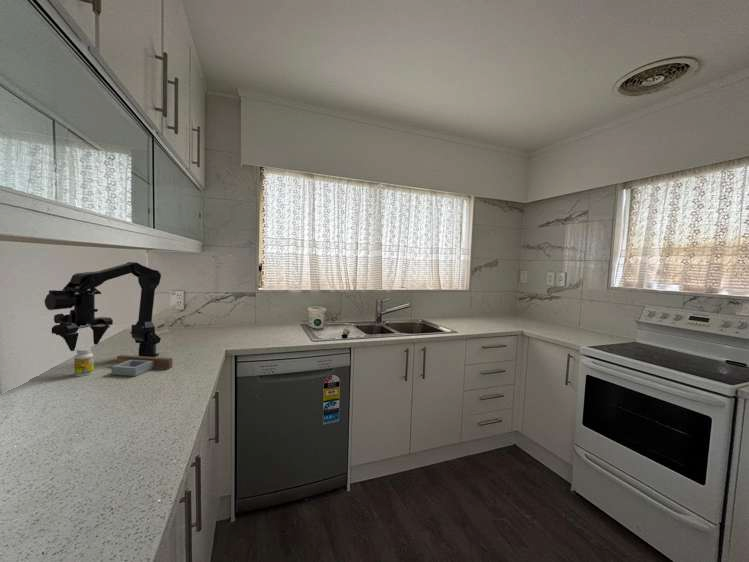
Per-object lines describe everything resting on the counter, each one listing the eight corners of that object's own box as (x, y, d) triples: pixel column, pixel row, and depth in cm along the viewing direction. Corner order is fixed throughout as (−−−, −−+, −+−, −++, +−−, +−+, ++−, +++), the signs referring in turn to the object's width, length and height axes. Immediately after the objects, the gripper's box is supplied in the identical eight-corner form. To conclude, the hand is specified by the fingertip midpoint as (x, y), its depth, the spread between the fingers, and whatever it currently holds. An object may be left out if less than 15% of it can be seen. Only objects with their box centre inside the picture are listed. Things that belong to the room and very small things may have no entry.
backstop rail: (121, 364, 131) (121, 355, 131) (172, 367, 130) (172, 358, 130) (116, 365, 129) (117, 356, 129) (168, 369, 128) (169, 359, 128)
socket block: (131, 366, 129) (131, 359, 128) (154, 367, 128) (154, 360, 128) (111, 374, 119) (111, 366, 119) (135, 376, 119) (135, 368, 119)
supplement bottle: (97, 371, 122) (97, 347, 121) (86, 376, 117) (86, 351, 116) (81, 371, 121) (81, 347, 121) (70, 376, 116) (70, 350, 115)
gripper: (87, 302, 127) (87, 340, 128) (36, 309, 109) (36, 353, 110) (113, 304, 127) (113, 342, 128) (67, 310, 108) (67, 355, 109)
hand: (84, 347), depth 119 cm, fingers open, 9 cm apart
